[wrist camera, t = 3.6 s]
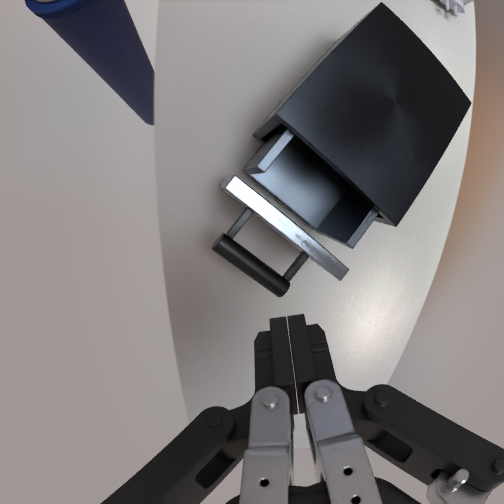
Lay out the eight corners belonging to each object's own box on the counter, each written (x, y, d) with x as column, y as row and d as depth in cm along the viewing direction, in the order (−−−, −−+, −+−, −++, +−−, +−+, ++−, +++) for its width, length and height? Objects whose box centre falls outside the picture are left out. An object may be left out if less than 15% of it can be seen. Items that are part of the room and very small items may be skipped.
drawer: (282, 289, 33) (306, 323, 25) (191, 222, 30) (186, 237, 22) (385, 153, 31) (433, 148, 23) (308, 79, 28) (341, 51, 20)
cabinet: (343, 213, 33) (396, 227, 23) (252, 134, 30) (275, 113, 20) (413, 115, 32) (471, 103, 22) (337, 40, 29) (381, 1, 19)
